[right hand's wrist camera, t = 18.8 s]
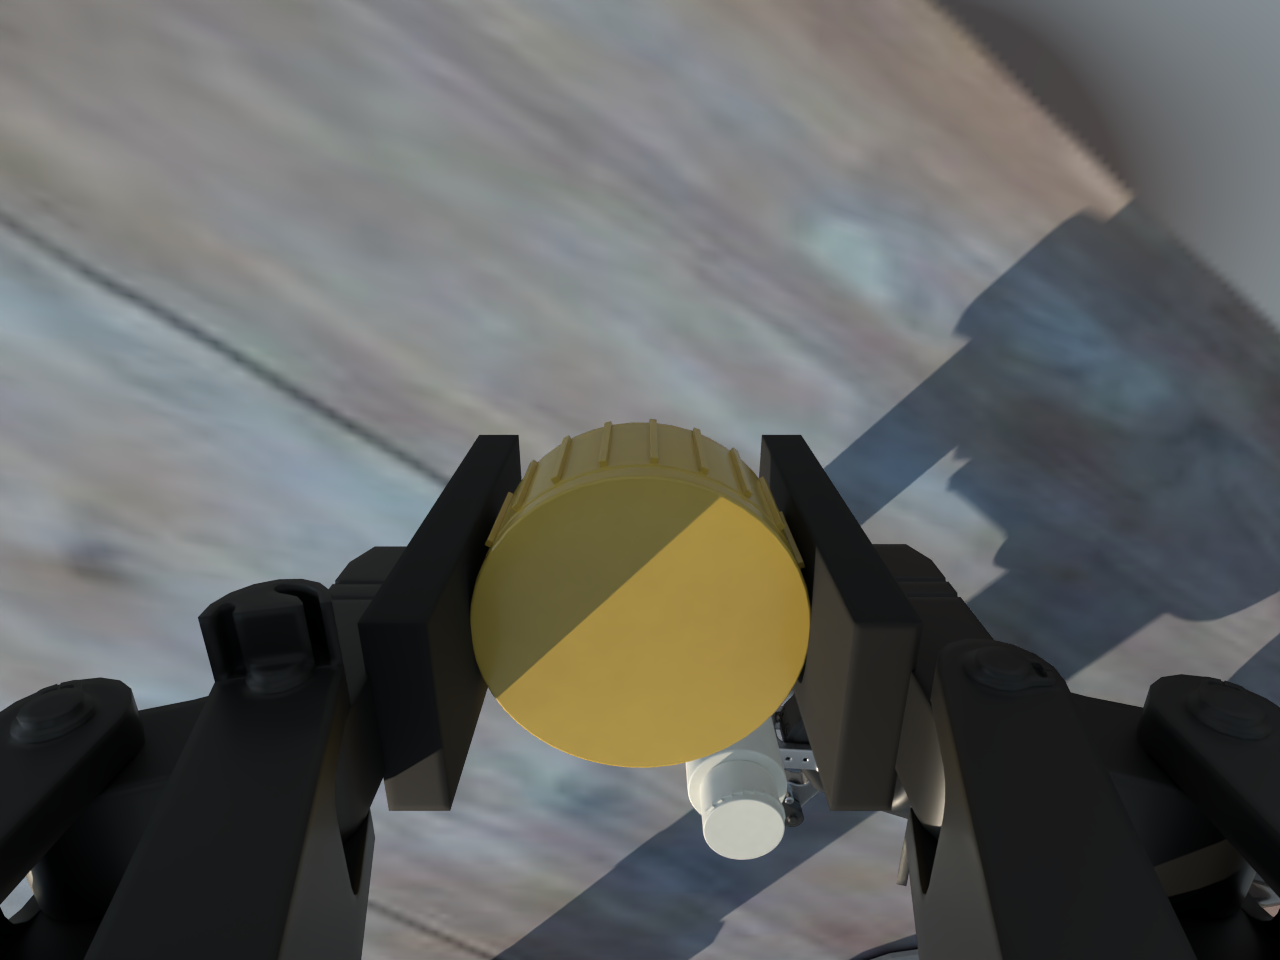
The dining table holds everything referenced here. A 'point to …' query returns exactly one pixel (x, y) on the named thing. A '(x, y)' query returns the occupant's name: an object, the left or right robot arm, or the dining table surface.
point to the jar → (741, 795)
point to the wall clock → (900, 956)
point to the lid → (640, 598)
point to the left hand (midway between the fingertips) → (671, 666)
